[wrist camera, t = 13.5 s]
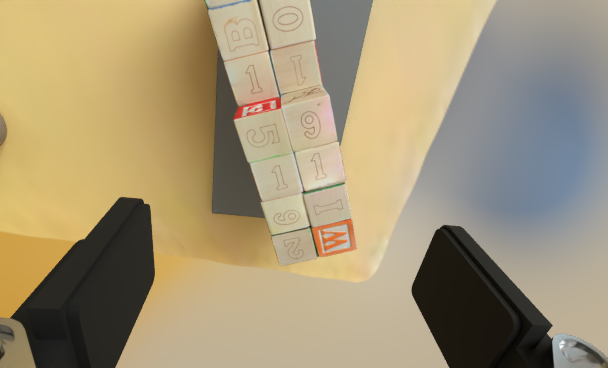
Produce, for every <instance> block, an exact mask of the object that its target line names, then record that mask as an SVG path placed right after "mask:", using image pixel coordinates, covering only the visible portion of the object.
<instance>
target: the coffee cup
mask: <svg viewBox="0 0 608 368" xmlns="http://www.w3.org/2000/svg"><path fill="white" fill-rule="evenodd" d="M5 137H6V126H5V122H4V120H3V118H2V116H1V115H0V145H1V144H2V143H3V141H4V140H5Z"/></svg>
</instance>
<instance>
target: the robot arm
mask: <svg viewBox="0 0 608 368" xmlns="http://www.w3.org/2000/svg"><path fill="white" fill-rule="evenodd" d="M154 276H155V268H154V254H153V240H152V225H151V211H150V205H149V204H144V201H143V200H142V199H138V198H126V197H120V198H119V199H118V200H117V201H116V203H115V204H114V205H113V206H112V207H111V208H110V210H109V211H108V212H107V213H106V214H105V216H104V217H103V218H102V219H101V220H100V221H99V223H98V224H97V225H96V226H95V227H94V228H93V230H92V231H91V232H90V233H89V234H88V236H87V237H86V238H85V239H82V240H79V241H78V242H76V243H75V245H73V246H72V248H71V249H70V250H69V251H68V252H67V253H66V255H65V256H64V257H63V258H62V259H61V260H60V261H59V263H58V264H57V265H56V266H55V267H54V269H52V271H51V272H50V273H49V274H48V275H47V276H46V277H45V279H44V280H43V281H42V282H41V283H40V284H39V285H38V287H37V288H36V289H35V290H34V291H33V292H32V294H31V295H30V296H29V297H28V298H27V299H26V300H25V302H24V303H23V304H22V305H21V306H20V307H19V308H18V310H17V311H16V312H15V313H14V314H13V315H12V316H11V318H0V368H115V367H116V365H117V363H118V360H119V358H120V356H121V354H122V351H123V349H124V347H125V345H126V342H127V340H128V338H129V336H130V333H131V331H132V329H133V327H134V325H135V322H136V320H137V318H138V316H139V313H140V311H141V309H142V307H143V304H144V302H145V300H146V298H147V295H148V293H149V291H150V289H151V286H152V284H153V281H154ZM412 295H413V297H414V299H415V301H416V303H417V305H418V307H419V309H420V311H421V313H422V315H423V317H424V319H425V321H426V323H427V325H428V327H429V329H430V331H431V333H432V335H433V337H434V339H435V340H436V343H437V344H438V346H439V348H440V350H441V352H442V354H443V356H444V358H445V360H446V362H447V364H448V366H449V368H608V358H607V357H606V356H605V355H604V354H603V353H602V352H601V351H599V350H598V349H597V348H595V347H594V346H593V345H591V344H589V343H587V342H586V341H584V340H582V339H580V338H577V337H575V336H572V335H568V334H557V335H555V336H554V337H553V338H552V339H551V338H550V337H549V336H548V334H547V332H548V331H549V330H550V328H551V327H552V324H551V323H550V322H549V321H548V320H547V319H546V318H545V317H544V316H543V315H542V313H540V311H539V310H538V309H537V308H536V307H535V306H534V305H533V304H532V302H530V300H529V299H528V298H527V297H526V296H525V295H524V294H523V293H522V292H521V291H520V289H519V288H518V287H517V286H516V285H515V284H514V283H513V282H512V281H511V280H510V279H509V277H508V276H507V275H506V274H505V273H504V272H503V271H502V270H501V269H500V268H499V267H498V266H497V264H496V263H495V262H494V261H493V260H492V259H491V258H490V257H489V256H488V255H487V254H486V252H485V251H484V250H483V249H482V248H481V247H480V246H479V245H478V244H477V243H476V242H475V241H474V239H473V238H472V237H471V236H470V235H469V234H468V233H467V232H466V231H465V230H464V229H463V228H462V227H460V226H450V225H444V226H442V227H441V228H440V229H437V230H436V232H435V234H434V236H433V238H432V241H431V243H430V245H429V248H428V250H427V252H426V255H425V257H424V259H423V262H422V264H421V266H420V269H419V271H418V273H417V276H416V278H415V280H414V283H413V285H412Z"/></svg>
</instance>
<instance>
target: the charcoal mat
mask: <svg viewBox="0 0 608 368" xmlns="http://www.w3.org/2000/svg"><path fill="white" fill-rule="evenodd" d="M372 2H373V0H310V5H311V10H312V16H313V22H314V28H315V34H316V39H315V43H316V49H317V55H318V61H319V66H320V72H321V78H322V83H323V87H324V88H325V90H326V91H327V93H328V94H329V96H330V101H331V106H332V111H333V116H334V121H335V127H336V132H337V139H338V142H339V145H341V141H342V136H343V132H344V127H345V123H346V118H347V114H348V109H349V105H350V100H351V96H352V91H353V87H354V82H355V78H356V74H357V69H358V65H359V60H360V56H361V51H362V47H363V42H364V38H365V33H366V29H367V24H368V20H369V16H370V11H371V7H372ZM237 108H239V106H238V105H237V102H236V100H235V97H234V94H233V91H232V88H231V85H230V82H229V79H228V76H227V72H226V69H225V66H224V61H223V59H222V56H221V53H220V50H219V47H218V63H217V90H216V117H215V144H214V172H213V199H212V213H217V214H228V215H239V216H250V217H262V218H265V215H264V212H263V209H262V206H261V202H260V200H261V198H260V195H259V192H258V189H257V185H256V183H255V180H254V177H253V174H252V170H251V167H250V164H249V163H248V162H247V159H246V156H245V153H244V150H243V147H242V144H241V141H240V138H239V135H238V132H237V129H236V127H235V124H234V121H233V119H234V116H235V113H236V111H237Z"/></svg>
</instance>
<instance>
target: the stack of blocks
mask: <svg viewBox="0 0 608 368" xmlns="http://www.w3.org/2000/svg"><path fill="white" fill-rule="evenodd" d="M205 3H206V5H207V8H208V10H207V11H208V15H209V19H210V22H211V25H212V28H213V31H214V34H215V37H216V40H217V43H218V47H219V50H220V53H221V56H222V59H223V61H224V66H225V69H226V72H227V76H228V79H229V82H230V85H231V88H232V91H233V94H234V97H235V100H236V102H237V105H238V106H239V108H237V111H236V113H235V116H234V119H233V121H234V124H235V127H236V129H237V132H238V135H239V138H240V141H241V144H242V147H243V150H244V153H245V156H246V159H247V162H248V163H249V164H250V167H251V170H252V174H253V177H254V180H255V183H256V185H257V189H258V192H259V195H260V198H261V200H260V202H261V206H262V209H263V212H264V215H265V218H266V221H267V224H268V228H269V231H270V233H271V239H272V242H273V245H274V248H275V252H276V255H277V258H278V261H279V264H280V266H285V265H289V264H294V263H298V262H303V261H308V260H314V259H317V257H318V256H319V257H326V256H330V255H335V254H339V253H343V252H347V251H352V250H355V249H357V245H356V240H355V234H354V229H353V223H352V219H351V217H352V213H351V208H350V203H349V198H348V193H347V188H346V184H345V180H346V176H345V171H344V166H343V160H342V155H341V150H340V145H339V142H338V139H337V132H336V127H335V121H334V116H333V111H332V106H331V101H330V96H329V94H328V93H327V91H326V90H325V88H324V87H323V83H322V78H321V72H320V66H319V61H318V55H317V49H316V43H315V39H316V34H315V28H314V22H313V16H312V10H311V5H310V0H205Z"/></svg>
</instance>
